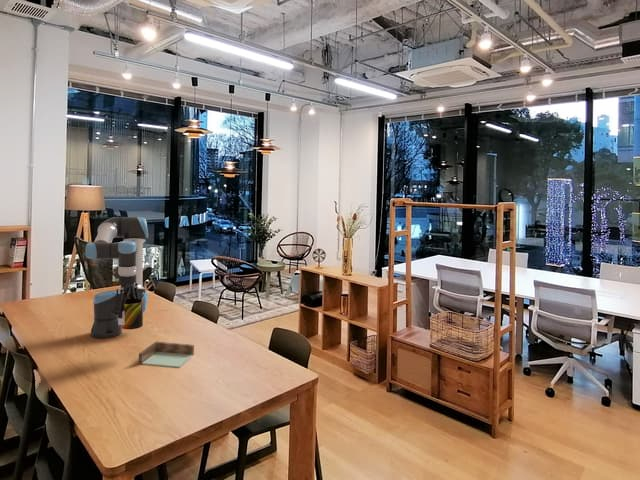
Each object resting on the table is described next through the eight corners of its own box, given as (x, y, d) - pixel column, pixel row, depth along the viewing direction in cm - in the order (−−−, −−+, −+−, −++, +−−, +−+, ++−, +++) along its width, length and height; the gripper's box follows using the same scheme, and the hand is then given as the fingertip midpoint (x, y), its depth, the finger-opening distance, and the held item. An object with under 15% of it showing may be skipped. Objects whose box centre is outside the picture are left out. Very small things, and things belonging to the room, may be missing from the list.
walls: (138, 364, 193) (138, 353, 192) (155, 351, 208) (155, 341, 208) (179, 367, 191) (179, 357, 190) (194, 354, 206) (194, 344, 206)
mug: (120, 321, 205) (119, 297, 204) (146, 323, 203) (146, 299, 202) (107, 327, 196) (107, 302, 194) (135, 330, 194) (135, 305, 192)
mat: (142, 364, 193) (142, 363, 193) (157, 352, 206) (157, 351, 206) (179, 367, 191) (179, 366, 191) (192, 356, 204) (192, 354, 204)
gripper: (121, 280, 185) (121, 329, 188) (147, 270, 207) (147, 314, 210) (105, 279, 186) (105, 328, 189) (133, 269, 208) (133, 313, 211)
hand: (127, 321), depth 199 cm, fingers closed on mug, 10 cm apart
